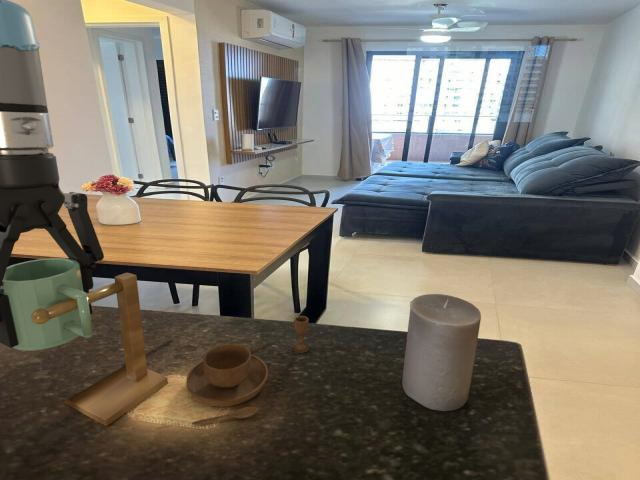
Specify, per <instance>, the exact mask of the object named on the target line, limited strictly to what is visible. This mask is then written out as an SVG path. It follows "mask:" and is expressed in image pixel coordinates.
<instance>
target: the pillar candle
mask: <svg viewBox="0 0 640 480" xmlns="http://www.w3.org/2000/svg"><path fill="white" fill-rule="evenodd" d="M409 307H410V308H409V314H408V315H409V317H408V326H407V334H406V344H405V352H404V362H403V370H402V379H401V381H402V383H401V385H402V389H403V391H404V393H405V395H407V396H408V397H409V398H410V399H412V400H413V401H415V402H416V403H418V405H419V404H420V405H421V406H423V407H424V408H427V409H429V410H433V411H437V412H450V411H455V410H459V409H461V408H462V407H463V406H465V404H466V403H467V402H468V401H469V397H470V396H469V395H470V389H471V383H472V378H473V372H474V367H475V366H474V365H475V360H476V359H475V358H476V351H477V347H478V340H479V333H480V327H481V322H482V321H481V319H482V314H481V311H480V309H479V308H478V307H477V306H475V305H474V304H473V303H471V302H469V301H467V300H465V299H463V298H460V297H457V296H453V295H448V294H442V293H428V294H427V293H426V294H421V295H418V296H416V297H414V298H413V299H412V300H411V301H409Z"/></svg>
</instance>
